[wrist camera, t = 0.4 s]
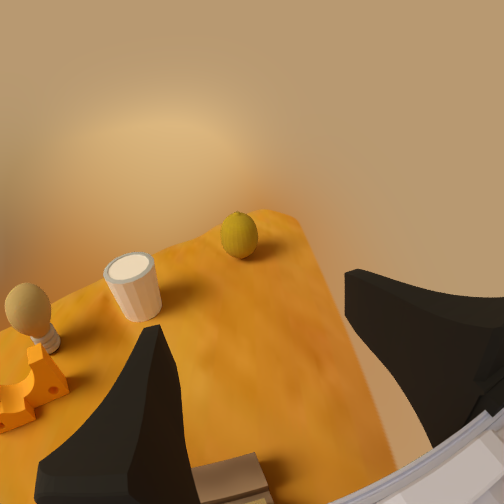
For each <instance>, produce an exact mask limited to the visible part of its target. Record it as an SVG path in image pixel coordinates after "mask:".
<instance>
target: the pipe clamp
mask: <svg viewBox="0 0 504 504" xmlns="http://www.w3.org/2000/svg"><path fill="white" fill-rule="evenodd" d="M27 354H28V363H29V366H30V367H31V371H30V374H29V375H28V376H27V378H26V379H24V380H23V381H22V382H20V383H17V384H14V385H6V386H5V385H0V434H1V433H4V432H7V431H9V430H12V429H14V428H17V427H19V426H22V425H24V424H27V423H29V422H32V421H34V420H36V417H35V412H34V408H36V407H38V406H41V405H43V404H45V403H48V402H50V401H52V400H55V399H57V398H59V397H62V396H64V395H66V394H68V393H70V392H69V388H68V385H67V381H66V377H65V376H64V375H63V373H62V372H61V371H60V369H59V368H58V367H57V365H56V364H55V363H54V361H53V360H52V358H51V357H50V356H49V354H48V353H47V351H46V350H45V348H44V347H43V345H42V344H41V342H40V343H38V344H36V345H34V346H32V347H29V348H27Z"/></svg>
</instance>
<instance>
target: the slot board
mask: <svg viewBox="0 0 504 504" xmlns="http://www.w3.org/2000/svg"><path fill="white" fill-rule="evenodd" d="M191 471H192V474H193V478H194V482H195V486H196V489H197V493H198V496H199V499H200V502H201V504H245V503H249V502H252V501H256V500H259V499H262V498H265V501H266V503H267V504H274V502H273V499H272V497H271V495H270V492H269V487H268V483H267V481H266V479H265V476H264V474H263V471H262V469H261V467H260V464H259V462H258V459H257V457H256V454H255V452H253V453H250V454H246V455H243V456H239V457H236V458H232V459H228V460H225V461H221V462H217V463H212V464H208V465H204V466H199V467H195V468H191Z"/></svg>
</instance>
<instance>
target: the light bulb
mask: <svg viewBox="0 0 504 504" xmlns="http://www.w3.org/2000/svg"><path fill="white" fill-rule="evenodd" d="M5 312H6V316H7V318H8V321H9V322H10V324H11V325H12V326H13V328H14V329H16V330H17V331H19V332H20V333H22V334H25V335H28V336H30V337H31V339H32V341H33V342H34V344H35V345H36V344H38V343H40V342H41V344H42V345H43V347H44V348H45V350H46V351H47V353H48V354H51V353H53V352H55V351H56V350H57V349H58V347H59V345H60V342H61V340H60V336H59V335H58V334H57V332H56V330H55V329H54V327H53V325H52V324H51V323H50V319H51V305H50V301H49V298H48V296H47V295H46V293H45V292H44V291H43V290H42V289H41V288H40V287H38V286H37V285H34V284H31V283H23V284H20V285H17V286H16V287H14V288H13V289H12V290H11V291H10V293H9V294H8V296H7V298H6V301H5Z"/></svg>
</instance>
